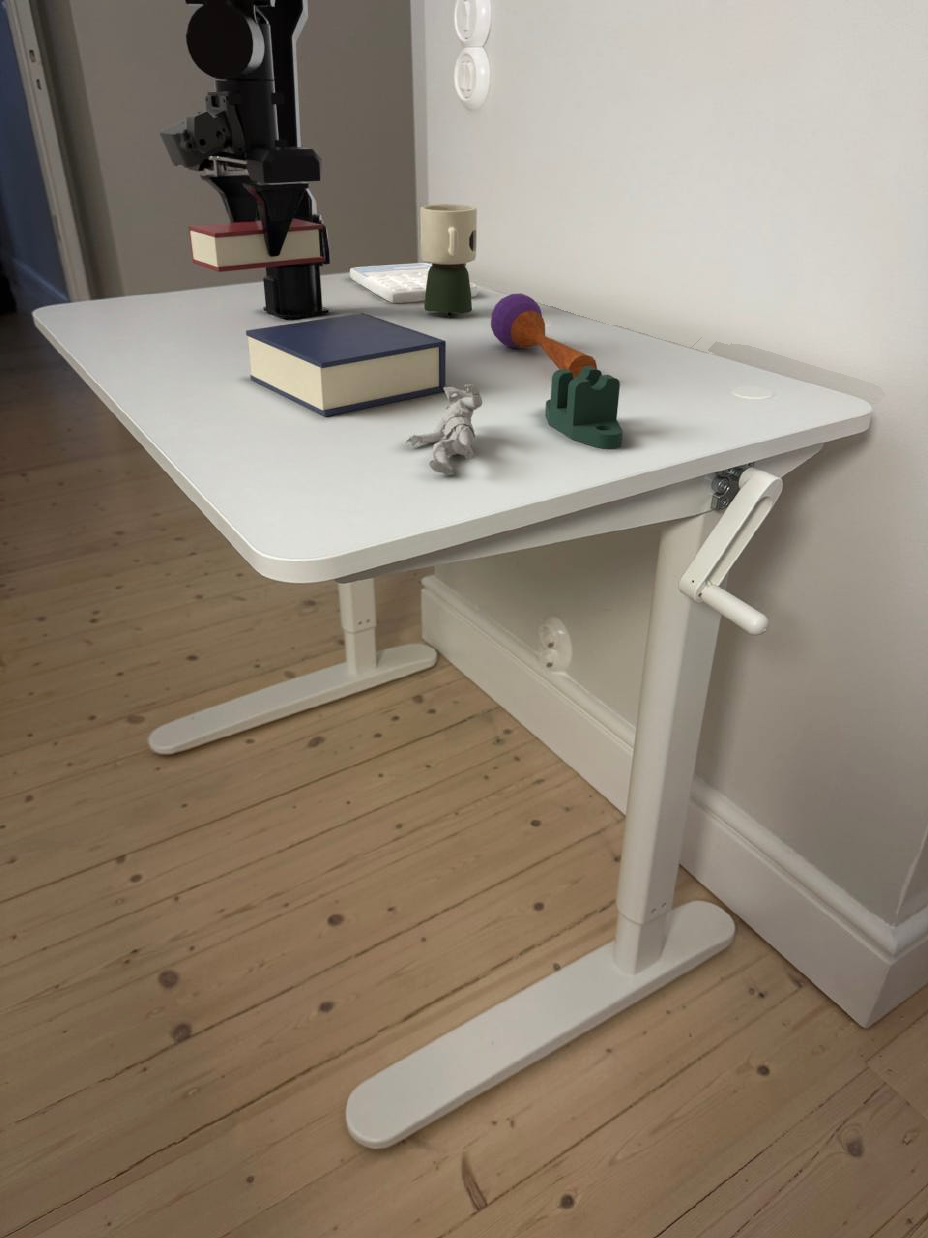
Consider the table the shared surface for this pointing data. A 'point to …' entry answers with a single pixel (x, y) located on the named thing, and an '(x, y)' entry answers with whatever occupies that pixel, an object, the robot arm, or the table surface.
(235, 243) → the small book
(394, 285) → the calculator
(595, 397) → the mount
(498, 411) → the table surface
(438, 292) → the character mug
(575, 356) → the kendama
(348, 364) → the big book
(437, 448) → the soldier figure
